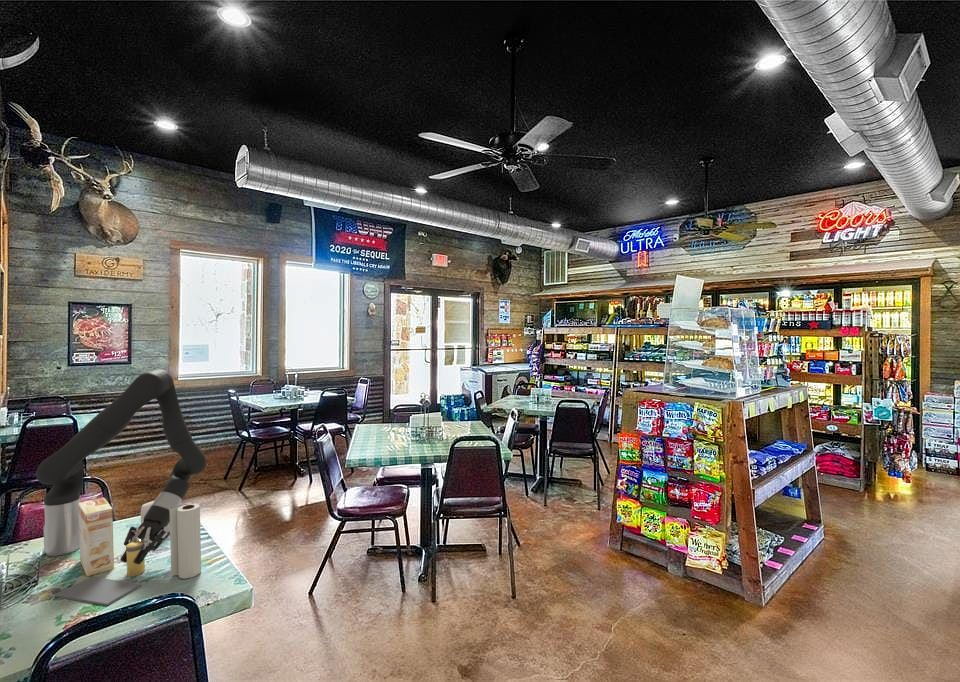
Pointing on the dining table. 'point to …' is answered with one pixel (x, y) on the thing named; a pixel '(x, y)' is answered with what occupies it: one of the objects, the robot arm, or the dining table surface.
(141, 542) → the yellow domed cylinder
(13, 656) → the dining table surface
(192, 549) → the paper towel roll
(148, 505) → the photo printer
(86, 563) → the coffeecake box
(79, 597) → the slate mat
